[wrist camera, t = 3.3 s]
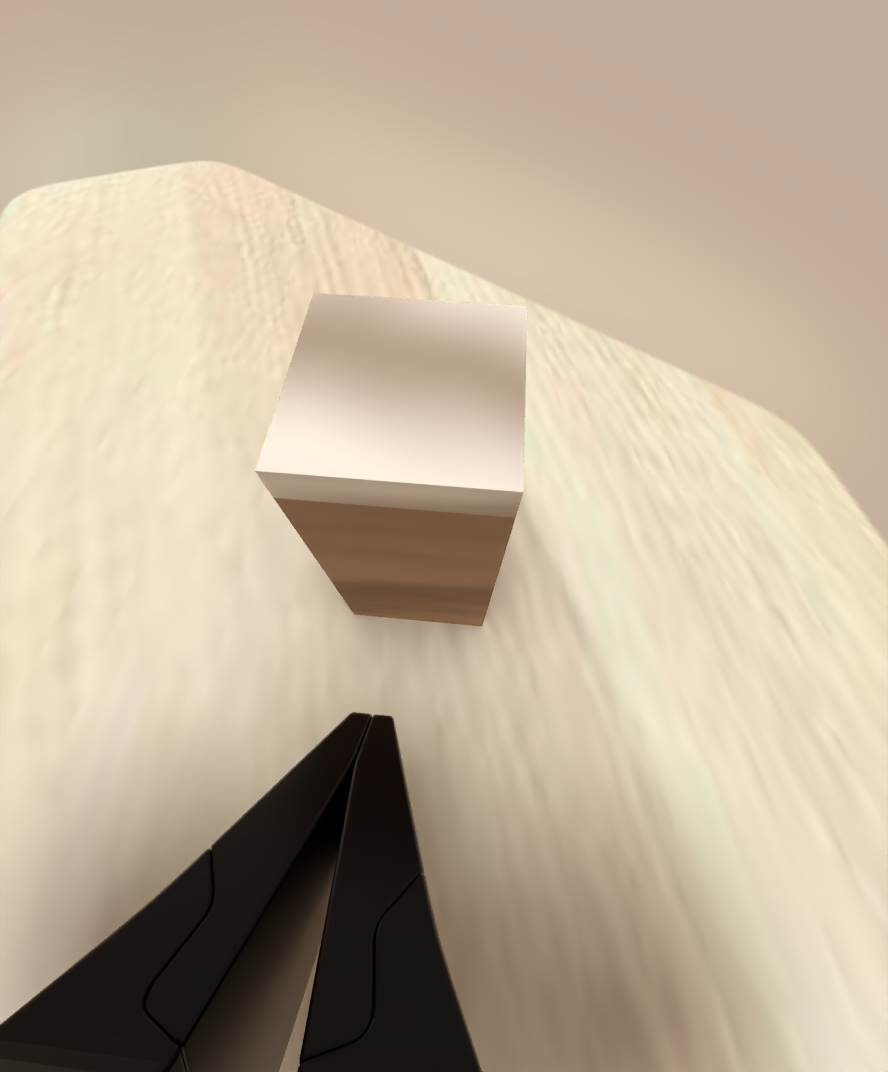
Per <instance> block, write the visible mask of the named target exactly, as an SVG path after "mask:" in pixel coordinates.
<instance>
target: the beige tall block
mask: <svg viewBox="0 0 888 1072" xmlns="http://www.w3.org/2000/svg"><path fill="white" fill-rule="evenodd" d="M526 331H527V306H516V305H499V304H483V303H467V302H451V301H434V300H418V299H402V298H386V297H369V296H353V295H337V294H320V293H314V294H313V297H312V300H311V303H310V306H309V309H308V312H307V315H306V318H305V321H304V324H303V327H302V330H301V333H300V336H299V339H298V342H297V345H296V348H295V351H294V354H293V357H292V360H291V363H290V366H289V369H288V372H287V375H286V378H285V381H284V384H283V387H282V391H281V394H280V397H279V400H278V403H277V406H276V409H275V412H274V415H273V418H272V421H271V424H270V427H269V430H268V433H267V436H266V439H265V442H264V445H263V448H262V451H261V454H260V457H259V460H258V463H257V466H256V469H255V472H256V473H257V475H258V476H259V477H260V479H261V480H262V482H263V483H264V485H265V486H266V488H267V489H268V490H269V492H270V493H271V495H272V496H273V498H274V499H275V501H276V502H277V503H278V505H279V506H280V508H281V509H282V511H283V512H284V513H285V515H286V516H287V518H288V519H289V521H290V522H291V524H292V525H293V526H294V528H295V529H296V531H297V532H298V534H299V535H300V537H301V538H302V539H303V541H304V542H305V544H306V545H307V547H308V548H309V550H310V551H311V552H312V554H313V555H314V557H315V558H316V560H317V561H318V563H319V564H320V565H321V567H322V568H323V570H324V571H325V573H326V574H327V576H328V577H329V578H330V580H331V581H332V583H333V584H334V586H335V587H336V589H337V590H338V591H339V593H340V594H341V596H342V597H343V599H344V600H345V601H346V603H347V604H348V606H349V607H350V609H351V610H352V612H353V613H354V614H356V615H367V616H378V617H389V618H399V619H410V620H421V621H432V622H443V623H453V624H464V625H475V626H482V624H483V621H484V618H485V615H486V611H487V608H488V605H489V602H490V598H491V595H492V592H493V589H494V585H495V582H496V579H497V576H498V572H499V569H500V566H501V563H502V559H503V556H504V553H505V550H506V546H507V543H508V540H509V537H510V534H511V530H512V527H513V524H514V521H515V517H516V514H517V511H518V508H519V504H520V501H521V498H522V495H523V482H524V432H525V381H526Z"/></svg>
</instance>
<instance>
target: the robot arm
mask: <svg viewBox="0 0 888 1072" xmlns="http://www.w3.org/2000/svg"><path fill="white" fill-rule="evenodd" d="M321 939H322V940H321ZM320 942H321V945H320ZM319 946H320V951H319V956H318V962H317V967H316V973H315V978H314V984H313V989H312V994H311V1000H310V1005H309V1011H308V1016H307V1022H306V1027H305V1033H304V1038H303V1044H302V1049H301V1054H300V1066H299V1068H298V1071H297V1072H482V1070H481V1067H480V1064H479V1061H478V1058H477V1055H476V1052H475V1049H474V1046H473V1043H472V1040H471V1037H470V1034H469V1031H468V1028H467V1025H466V1022H465V1019H464V1016H463V1013H462V1009H461V1006H460V1003H459V1000H458V997H457V994H456V991H455V988H454V985H453V982H452V979H451V976H450V973H449V969H448V966H447V962H446V959H445V956H444V952H443V949H442V945H441V942H440V939H439V935H438V931H437V927H436V923H435V918H434V914H433V910H432V905H431V901H430V897H429V892H428V887H427V882H426V877H425V875H424V868H423V863H422V858H421V853H420V848H419V843H418V838H417V833H416V828H415V823H414V818H413V813H412V808H411V803H410V798H409V793H408V788H407V783H406V778H405V773H404V768H403V763H402V759H401V754H400V749H399V744H398V739H397V734H396V729H395V724H394V719H393V717H391V716H385V715H374V716H373V717H372V716H371V715H370V714H365V713H355V712H354V713H351V714H350V715H348V716H347V717H346V718H345V719H344V720H343V721H342V722H341V723H340V724H339V725H338V726H337V727H336V728H335V729H334V730H333V731H332V732H330V733H329V734H328V735H327V736H326V737H325V738H324V739H323V740H322V741H321V742H320V743H319V744H318V745H317V746H316V747H315V748H314V749H313V750H312V751H310V752H309V753H308V754H307V755H306V756H305V757H304V758H303V759H302V760H301V761H300V762H299V763H298V764H297V765H296V766H295V767H294V768H293V769H291V770H290V771H289V772H288V773H287V774H286V775H285V776H284V777H283V778H282V779H281V780H280V781H279V782H278V783H277V784H276V785H275V786H274V787H273V788H271V789H270V790H269V791H268V792H267V793H266V794H265V795H264V796H263V797H262V798H261V799H260V800H259V801H258V802H257V803H256V804H255V805H254V806H253V807H251V808H250V809H249V810H248V811H247V812H246V813H245V814H244V815H243V816H242V817H241V818H240V819H239V820H238V821H237V822H236V823H235V824H234V825H232V826H231V827H230V828H229V829H228V830H227V831H226V832H225V833H224V834H223V835H222V836H221V837H220V838H219V839H218V840H217V841H216V842H215V843H214V844H212V846H211V850H210V849H207V850H206V851H205V852H204V853H203V854H202V855H201V856H200V857H198V858H197V859H196V860H195V861H194V862H193V863H192V864H191V865H190V866H189V867H188V868H187V869H186V870H185V871H184V872H182V873H181V874H180V875H179V876H178V877H177V878H176V879H175V880H174V881H173V882H171V883H170V884H169V885H168V886H167V887H166V888H165V889H164V890H163V891H162V892H160V893H159V894H158V895H157V896H156V897H155V898H154V899H153V900H152V901H150V902H149V903H148V904H147V905H146V906H144V907H143V908H142V909H141V910H140V911H138V912H137V913H136V914H135V915H134V916H133V917H131V918H130V919H129V920H128V921H127V922H125V923H124V924H123V925H122V926H121V927H119V928H118V929H117V930H116V931H115V932H114V933H112V934H111V935H110V936H109V937H107V938H106V939H105V940H104V941H103V942H101V943H100V944H99V945H98V946H96V947H95V948H94V949H93V950H91V951H90V952H89V953H88V954H87V955H85V956H84V957H83V958H82V959H80V960H79V961H78V962H77V963H75V964H74V965H73V966H72V967H71V968H69V969H68V970H67V971H66V972H64V973H63V974H62V975H61V976H59V977H58V978H57V979H56V980H55V981H53V982H52V983H51V984H50V985H48V986H47V987H46V988H45V989H43V990H42V991H41V992H40V993H39V994H37V995H36V996H35V997H34V998H32V999H31V1000H30V1001H29V1002H28V1003H26V1004H25V1005H24V1006H23V1007H21V1008H20V1009H19V1010H18V1011H16V1012H15V1013H14V1014H13V1015H12V1016H10V1017H9V1018H8V1019H7V1020H5V1021H4V1022H3V1023H1V1024H0V1072H279V1069H280V1066H281V1063H282V1060H283V1057H284V1054H285V1051H286V1048H287V1045H288V1041H289V1038H290V1035H291V1032H292V1029H293V1026H294V1023H295V1020H296V1017H297V1014H298V1011H299V1007H300V1004H301V1001H302V998H303V995H304V992H305V989H306V986H307V983H308V980H309V976H310V973H311V970H312V967H313V964H314V961H315V958H316V955H317V952H318V949H319Z"/></svg>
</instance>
